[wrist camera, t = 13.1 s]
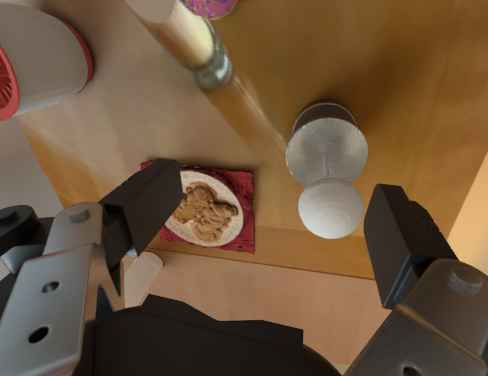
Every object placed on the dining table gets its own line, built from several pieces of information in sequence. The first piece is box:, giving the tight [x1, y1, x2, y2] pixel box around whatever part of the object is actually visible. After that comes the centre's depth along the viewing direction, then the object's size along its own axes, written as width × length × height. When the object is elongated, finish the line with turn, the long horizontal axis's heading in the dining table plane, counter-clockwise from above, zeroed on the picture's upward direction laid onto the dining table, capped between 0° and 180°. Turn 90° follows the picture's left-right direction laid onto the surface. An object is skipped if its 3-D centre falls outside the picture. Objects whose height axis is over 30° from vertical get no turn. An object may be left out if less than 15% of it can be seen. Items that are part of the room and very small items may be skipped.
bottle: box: [124, 252, 163, 308], centre depth 63 cm, size 8×8×30 cm
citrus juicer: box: [0, 2, 93, 121], centre depth 40 cm, size 16×17×20 cm
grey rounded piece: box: [286, 100, 368, 186], centre depth 39 cm, size 11×11×12 cm
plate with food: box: [140, 162, 254, 254], centre depth 59 cm, size 24×26×4 cm
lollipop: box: [298, 155, 364, 239], centre depth 28 cm, size 6×6×15 cm
